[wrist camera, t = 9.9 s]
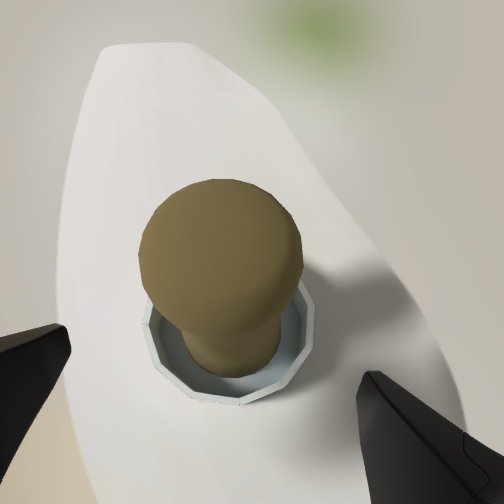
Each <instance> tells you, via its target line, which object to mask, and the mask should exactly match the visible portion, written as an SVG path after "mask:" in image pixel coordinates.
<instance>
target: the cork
mask: <svg viewBox="0 0 504 504" xmlns="http://www.w3.org/2000/svg"><path fill="white" fill-rule="evenodd" d="M138 256H139V264H140V271H141V278H142V284H143V287H144V289H145V291H146V293H147V294H148V296H149V298H150V300H151V302H152V303H153V305H154V307H155V308H156V309H157V310H158V311H159V313H160V314H162V315H163V316H164V317H165V318H166V319H167V320H169V321H170V322H171V323H172V324H173V325H174V326H176V327H177V328H178V329H180V330H181V332H182V335H183V338H184V342H185V345H186V348H187V351H188V352H189V354H190V355H191V357H192V358H193V360H194V361H195V363H197V364H198V365H199V366H200V367H202V368H203V369H204V370H205V371H207V372H208V373H211V374H214V375H217V376H219V377H222V378H242V377H245V376H248V375H252V374H255V373H256V372H258V371H259V370H261V369H262V368H263V367H265V366H266V365H268V363H269V362H270V361H271V359H272V358H273V357H274V355H275V354H276V353H277V350H278V347H279V344H280V341H281V314H282V312H283V311H284V310H285V308H286V307H287V305H288V304H289V303H290V301H291V300H292V298H293V297H294V295H295V293H296V291H297V288H298V285H299V281H300V278H301V274H302V270H303V267H304V265H303V253H302V242H301V235H300V233H299V231H298V228H297V226H296V224H295V222H294V220H293V218H292V216H291V214H290V213H289V212H288V211H287V210H286V209H285V208H284V207H283V206H282V205H281V204H280V203H279V202H278V201H277V200H276V199H275V198H274V197H273V196H272V195H271V194H270V193H268V192H266V191H264V190H263V189H261V188H259V187H257V186H255V185H254V184H250V183H246V182H242V181H238V180H234V179H211V180H206V181H202V182H198V183H194V184H191V185H189V186H187V187H185V188H183V189H181V190H179V191H177V192H175V193H173V194H172V195H171V196H170V197H169V198H167V199H166V200H165V201H164V202H163V203H162V204H161V205H160V206H159V207H158V208H157V209H156V211H155V212H154V214H153V216H152V217H151V219H150V221H149V222H148V224H147V226H146V228H145V230H144V232H143V235H142V239H141V244H140V248H139V253H138Z"/></svg>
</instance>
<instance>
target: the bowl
mask: <svg viewBox="0 0 504 504" xmlns="http://www.w3.org/2000/svg"><path fill="white" fill-rule="evenodd" d="M314 312H315V305H314V302H313V300H312V298H311V296H310V295H309V293H308V291H307V289H306V287H305V285H304V283H303V282H302V280H301V278H300V281H299V285H298V288H297V291H296V293H295V295H294V297H293V298H292V300H291V301H290V303H289V304H288V305H287V307H286V308H285V310H284V311H283V312H282V314H281V341H280V344H279V347H278V350H277V353H276V354H275V355H274V357H273V358H272V359H271V361H270V362H269V363H268V365H266V366H265V367H263V368H262V369H261V370H259V371H258V372H256V373H255V374H252V375H248V376H245V377H242V378H222V377H219V376H217V375H214V374H211V373H208V372H207V371H205V370H204V369H203V368H202V367H200V366H199V365H198V364H197V363H195V361H194V360H193V358H192V357H191V355H190V354H189V352H188V351H187V348H186V345H185V342H184V338H183V335H182V332H181V330H180V329H178V328H177V327H176V326H174V325H173V324H172V323H171V322H170V321H169V320H167V319H166V318H165V317H164V316H163V315H162V314H160V313H159V311H158V310H157V309H156V308H155V307H154V305H153V303H152V302H151V300H150V298H149V297H148V301H147V305H146V309H145V313H144V317H143V321H142V325H143V326H142V329H143V332H144V336H145V339H146V342H147V345H148V349H149V352H150V355H151V358H152V361H153V364H154V367H156V369H157V370H158V371H159V372H160V373H161V374H162V375H164V376H165V377H166V378H167V379H168V380H169V381H170V382H172V383H173V384H174V385H175V386H176V387H177V388H179V389H180V390H181V391H182V392H183V393H185V394H186V395H187V396H188V397H190V398H191V399H196V400H202V401H208V402H214V403H221V404H228V405H235V406H241V405H244V404H246V403H249V402H251V401H254V400H256V399H259V398H261V397H264V396H266V395H268V394H271V393H273V392H275V391H277V390H280V389H282V388H284V387H285V386H287V384H288V383H289V381H290V380H291V379H292V377H293V376H294V375H295V373H296V372H297V370H298V369H299V367H300V366H301V365H302V363H303V362H304V360H305V359H306V357H307V356H308V354H309V353H310V352H311V350H312V348H313V333H314Z"/></svg>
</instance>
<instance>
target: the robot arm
mask: <svg viewBox="0 0 504 504" xmlns="http://www.w3.org/2000/svg"><path fill="white" fill-rule="evenodd" d="M70 355H71V344H70V340H69V335H68V331H67V329H66V327H65V326H63V325H60V324H57V323H54V324H50V325H46V326H43V327H39V328H35V329H31V330H27V331H23V332H19V333H15V334H11V335H7V336H4V337H0V484H1V482H2V479H3V477H4V475H5V473H6V471H7V469H8V467H9V465H10V463H11V461H12V459H13V457H14V455H15V454H16V452H17V450H18V448H19V446H20V444H21V442H22V440H23V439H24V437H25V435H26V433H27V431H28V430H29V428H30V426H31V425H32V423H33V421H34V419H35V418H36V416H37V414H38V413H39V411H40V409H41V408H42V406H43V404H44V403H45V401H46V400H47V398H48V396H49V395H50V393H51V391H52V390H53V388H54V386H55V384H56V382H57V380H58V378H59V376H60V374H61V372H62V370H63V368H64V366H65V364H66V362H67V361H68V359H69V357H70ZM356 403H357V413H358V424H359V436H360V444H361V450H362V455H363V460H364V465H365V470H366V476H367V481H368V487H369V492H370V498H371V504H504V456H502V455H501V454H499V453H497V452H495V451H493V450H492V449H490V448H488V447H487V446H485V445H483V444H482V443H480V442H479V441H477V440H476V439H474V438H473V437H471V436H470V435H469V434H467V433H466V432H463V430H461V429H460V428H459V427H457V426H456V425H454V424H453V423H451V422H450V421H449V420H447V419H446V418H444V417H443V416H442V415H440V414H439V413H437V412H436V411H435V410H433V409H432V408H430V407H429V406H428V405H426V404H425V403H423V402H422V401H421V400H419V399H418V398H416V397H415V396H414V395H412V394H411V393H409V392H408V391H407V390H405V389H404V388H403V387H401V386H400V385H398V384H397V383H396V382H394V381H393V380H392V379H390V378H389V377H387V376H386V375H385V374H383V373H382V372H381V371H366V372H365V373H364V375H363V378H362V381H361V383H360V386H359V388H358V391H357V395H356Z"/></svg>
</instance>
